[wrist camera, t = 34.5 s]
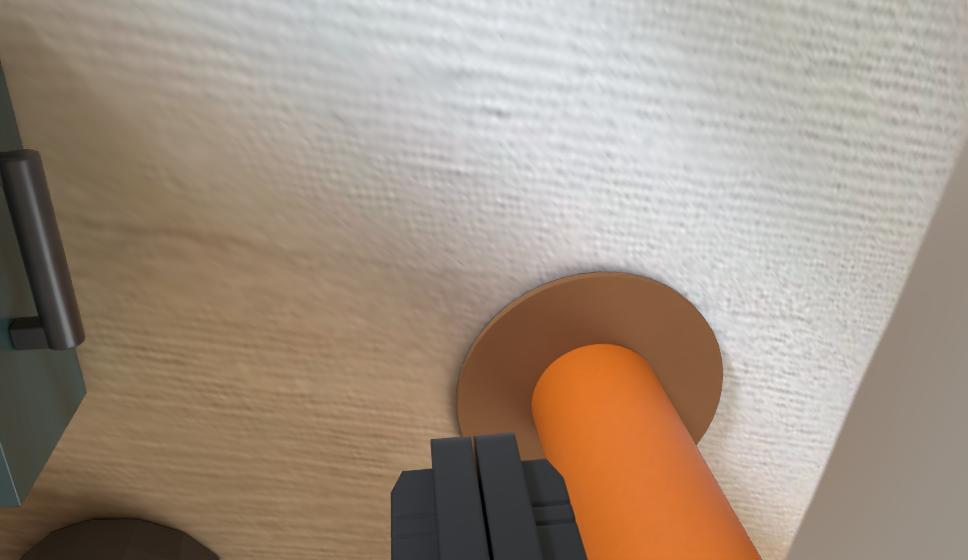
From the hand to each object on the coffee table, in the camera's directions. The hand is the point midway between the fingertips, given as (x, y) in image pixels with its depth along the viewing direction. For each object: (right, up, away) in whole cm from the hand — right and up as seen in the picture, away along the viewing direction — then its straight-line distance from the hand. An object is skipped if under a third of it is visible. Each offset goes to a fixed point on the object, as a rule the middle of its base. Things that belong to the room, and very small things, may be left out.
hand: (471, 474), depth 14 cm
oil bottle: (+5, -1, +18) cm, 19 cm away
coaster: (+5, -1, +19) cm, 19 cm away
